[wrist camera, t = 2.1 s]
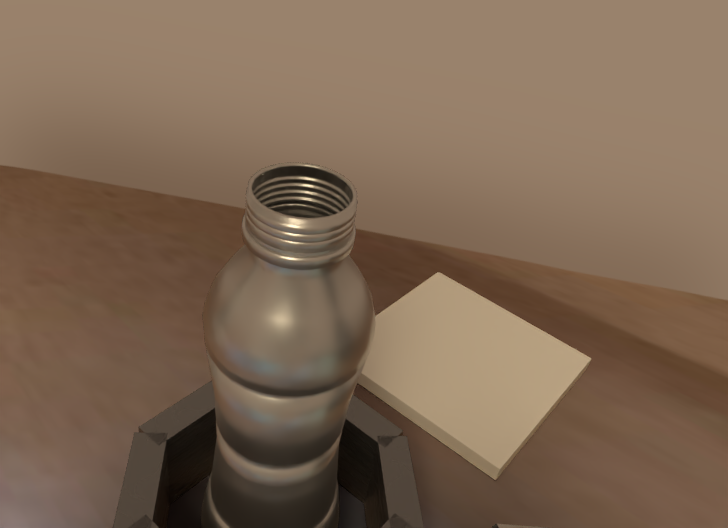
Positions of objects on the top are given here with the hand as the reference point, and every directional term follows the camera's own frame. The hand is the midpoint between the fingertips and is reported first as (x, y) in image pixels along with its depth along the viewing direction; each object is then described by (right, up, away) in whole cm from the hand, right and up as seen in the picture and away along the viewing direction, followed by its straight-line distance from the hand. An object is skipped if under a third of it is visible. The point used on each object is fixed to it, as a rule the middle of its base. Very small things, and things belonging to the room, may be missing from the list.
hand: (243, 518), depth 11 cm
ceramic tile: (+9, -3, +34) cm, 35 cm away
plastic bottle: (-3, -10, +22) cm, 24 cm away
